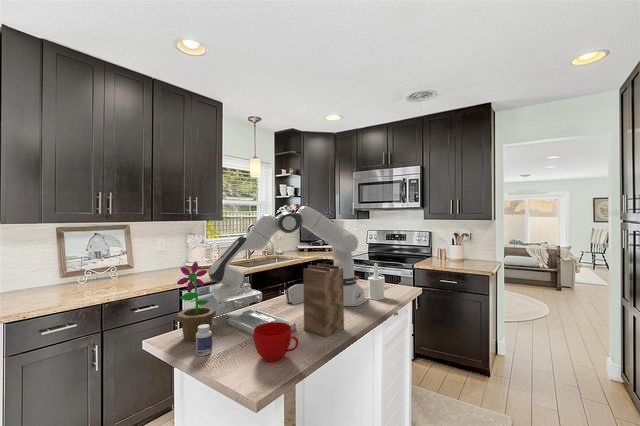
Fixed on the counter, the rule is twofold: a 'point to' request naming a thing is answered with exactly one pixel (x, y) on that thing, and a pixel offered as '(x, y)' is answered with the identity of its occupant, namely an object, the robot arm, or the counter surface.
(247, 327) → the tray
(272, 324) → the ceramic cup
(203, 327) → the pill bottle
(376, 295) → the white soap dispenser
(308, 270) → the ridged wooden post
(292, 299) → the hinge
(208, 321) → the flowerpot
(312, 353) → the counter surface
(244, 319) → the block
